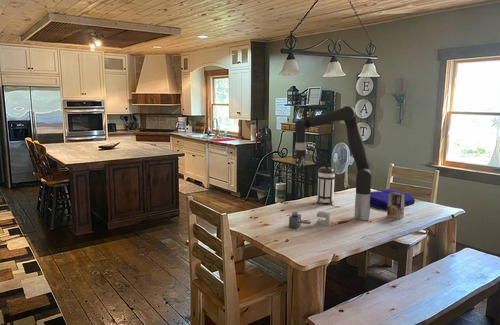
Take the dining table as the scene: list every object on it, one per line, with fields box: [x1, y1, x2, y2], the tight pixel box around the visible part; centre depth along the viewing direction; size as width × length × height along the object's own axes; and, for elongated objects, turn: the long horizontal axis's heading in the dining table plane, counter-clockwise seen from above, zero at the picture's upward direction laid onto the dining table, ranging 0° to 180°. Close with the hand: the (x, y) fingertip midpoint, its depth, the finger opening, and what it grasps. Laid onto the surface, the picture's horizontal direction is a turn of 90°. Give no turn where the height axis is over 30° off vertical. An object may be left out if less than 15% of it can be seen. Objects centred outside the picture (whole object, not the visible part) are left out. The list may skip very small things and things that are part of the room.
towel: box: [370, 188, 416, 211], centre depth 285 cm, size 26×36×9 cm
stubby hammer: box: [288, 211, 312, 230], centre depth 228 cm, size 12×8×9 cm, turn 65°
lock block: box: [315, 211, 331, 227], centre depth 235 cm, size 7×5×8 cm
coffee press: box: [316, 163, 336, 206], centre depth 281 cm, size 17×16×30 cm
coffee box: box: [386, 192, 405, 220], centre depth 252 cm, size 9×6×16 cm
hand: (300, 172), depth 260 cm, fingers open, 8 cm apart
